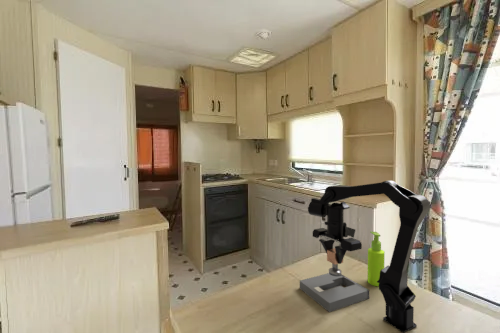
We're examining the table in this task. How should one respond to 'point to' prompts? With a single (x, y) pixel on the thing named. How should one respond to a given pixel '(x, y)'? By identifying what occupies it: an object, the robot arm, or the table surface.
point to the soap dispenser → (375, 260)
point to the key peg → (333, 262)
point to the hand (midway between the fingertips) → (335, 261)
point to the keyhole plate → (334, 291)
